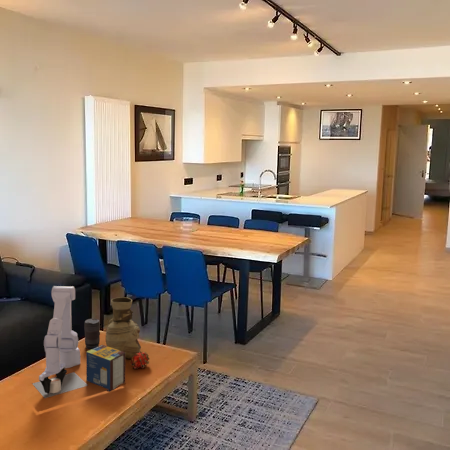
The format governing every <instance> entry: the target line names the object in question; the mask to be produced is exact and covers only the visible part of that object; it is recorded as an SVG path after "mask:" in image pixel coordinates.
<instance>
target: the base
mask: <svg viewBox="0 0 450 450" xmlns="http://www.w3.org/2000/svg"><path fill="white" fill-rule="evenodd" d="M54 378H56V376H54V377H51V378H50V379H54ZM31 384H32V385H33V386H34V388H35V389H36V390H37V391H38V392H39V394H40V395H41V396H42V397H43V399H47V398H51V397H53V396H58V395H61V394H64V393H68V392H71V391H74V390H78V389H81V388H84V387H87V386H89V385H88V384H87V383H86V382H85V381H84V380H83V379H82V378H81V377H80V376H79V375H78V374H77V373H76V372H74V371H72V372H70V373H66V374H65V376H64V379H63V382H62V386H61V390H60V391H59V392H57V393H50V392H49V393H45V391H44V388H43V385H42V383H41V382H40V381H37V382H33V383H31Z"/></svg>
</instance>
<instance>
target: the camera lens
mask: <svg viewBox="0 0 450 450" xmlns="http://www.w3.org/2000/svg"><path fill="white" fill-rule="evenodd" d="M100 324H101V322H100V320H99V319H98V318H88V319H86V320H85V321H84V324H83V325H84V344H85V349H87V350H91V349H94V348H96V347H98V346H100V339H101V337H100V335H101V332H100V331H101V325H100Z"/></svg>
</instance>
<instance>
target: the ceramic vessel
mask: <svg viewBox="0 0 450 450" xmlns="http://www.w3.org/2000/svg"><path fill="white" fill-rule="evenodd" d="M110 304H111V307H112V318H110V320H109V321H108V322H107V323H108V325H107V328H106V331H105V346H108V347H111V348H114V349H117V350H120V351H123V352H125V360H126V359H128V360H132V357H133V356H134V355H135V353H139V352H140V351H141V348H142V347H141V346H142V345H141V344H140V341H139V340H138V339H139V338H140V332H141V329H140V327H139V325H138V324H137V323H138V322H137V321H133V320H132V319H133V313H134V311H133V310H132V309H131V308H132V304H133V299H131V298H130V297H127V296H126V297H124V296H121V297H120V296H119V297H115V298H111V300H110Z"/></svg>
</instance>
